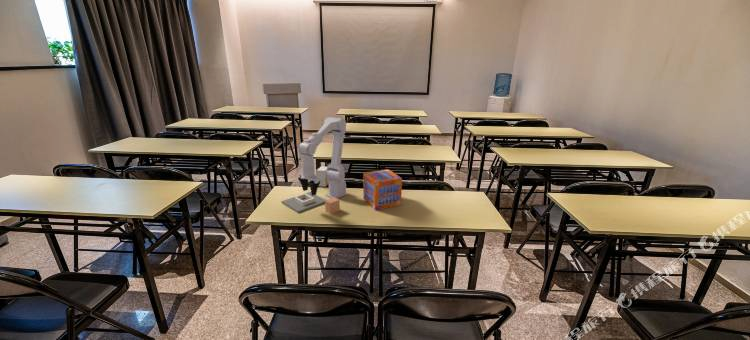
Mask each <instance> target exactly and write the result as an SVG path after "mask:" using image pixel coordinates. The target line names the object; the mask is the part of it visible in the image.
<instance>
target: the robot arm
mask: <svg viewBox="0 0 750 340" xmlns="http://www.w3.org/2000/svg"><path fill="white" fill-rule="evenodd" d="M346 130H347V122H346V120H345V118H343V117H342V118H340V117H339V118H338V117H331V116H327V117H326V118H325V119H324V122H323V124H322V126H321V127H320V129H319V130H318V131H317V132H312V133H311V135H310V136H309V137H308V138H307V139H306V140H305V141H303V142H301V143H300V144H299V145H298V148H297V152H298V154H299V156H300V158H301V159H300V160H301V170H302V171H298V176H299V177H297V179H298V182H299V183H300V185H301V188H302V191H303V192H306V191H308V189H309V188H310V192H311V194H312V196H313V195H317V193H318V188H319V187H320V186H319V184H320V181H319V179H318V178H317V175H316V174H315V161H314V157H315V156H314V155H315V154H316V152H317V151H316V150H317V149H318V146H319V145H320V144H321V143H322V142H323V138H324V137H325V136H326V135H327V134H328V133H329V132H331V133H332V134H333V142H332V143H333V144H332V152H331V160H330V161H331V162H330V163H329V164H328V165H327V166H326V167H327V169H326V172H325V177H326V179H327V181H329V184H328V192H327V193H326V194H325V195H326V196H327V197H328V198H330V199H332V198H334V197H335V198H337V199H339V198H342V197H343V196H347V195H348V193H347V184H346V182H347V181H346V180H345V177H346V173H345V167H344V166H343V165H342V164H341V163H342V155H343V154H342V153H343V147H344V137H345V134H346ZM309 181H310V182H309Z"/></svg>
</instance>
